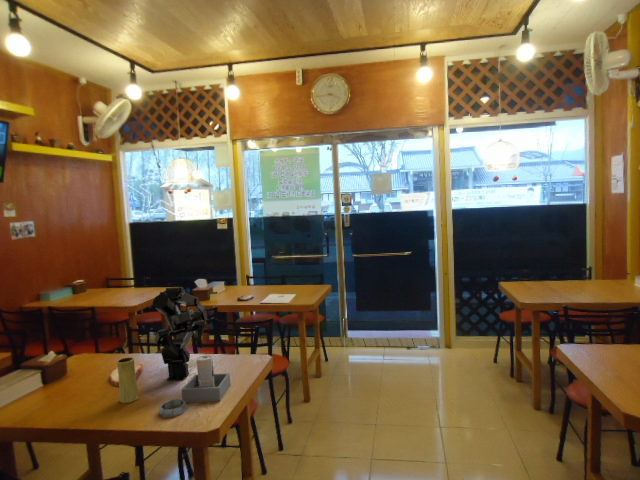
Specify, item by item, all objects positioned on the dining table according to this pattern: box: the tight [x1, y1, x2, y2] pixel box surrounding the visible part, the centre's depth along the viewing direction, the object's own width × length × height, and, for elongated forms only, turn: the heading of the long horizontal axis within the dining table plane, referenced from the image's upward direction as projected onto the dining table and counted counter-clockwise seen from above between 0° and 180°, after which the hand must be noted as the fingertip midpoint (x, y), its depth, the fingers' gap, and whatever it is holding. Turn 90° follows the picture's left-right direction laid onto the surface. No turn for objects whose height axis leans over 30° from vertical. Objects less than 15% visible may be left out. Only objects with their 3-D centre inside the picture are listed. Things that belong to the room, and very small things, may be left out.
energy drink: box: [196, 354, 215, 388], centre depth 150 cm, size 5×5×12 cm
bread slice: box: [109, 362, 144, 387], centre depth 172 cm, size 18×18×4 cm
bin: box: [180, 372, 232, 403], centre depth 151 cm, size 13×13×4 cm
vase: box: [116, 356, 140, 404], centre depth 149 cm, size 6×6×14 cm
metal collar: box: [158, 398, 188, 418], centre depth 138 cm, size 8×8×2 cm
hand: (189, 350), depth 156 cm, fingers open, 9 cm apart
